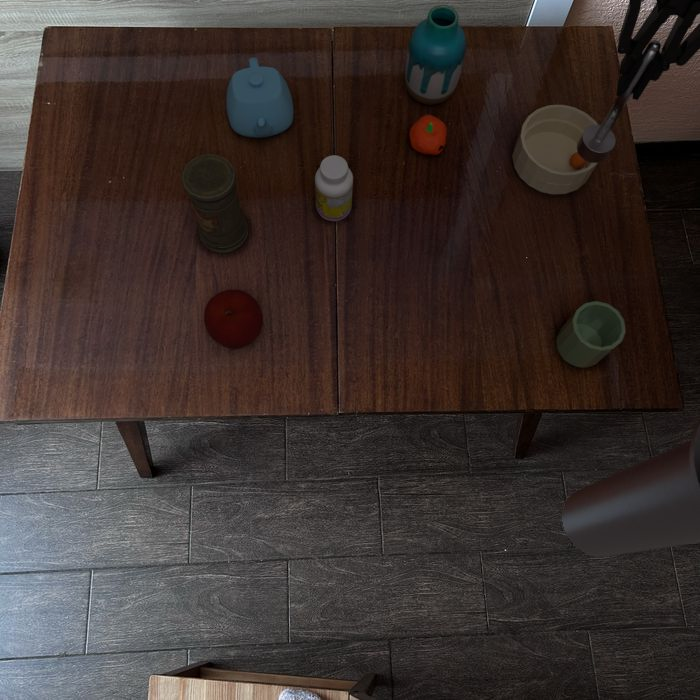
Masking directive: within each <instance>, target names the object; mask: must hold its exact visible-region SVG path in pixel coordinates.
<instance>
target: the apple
mask: <svg viewBox="0 0 700 700" xmlns="http://www.w3.org/2000/svg"><path fill="white" fill-rule="evenodd" d="M203 322H204V323H203V324H204V327H205V330H206V332H207V334H208V335H209V336H210V338H211V339H212V340H213V341H214V342H216V343H217V344H219V345H220V346H222V347H225V348H226V349H227V348H228V349H231V350H232V349H233V350H239V349H244V348H246V347H248V346H249V345H251V344H253V343H254V342H255V341H256V340H257V339H258V337H259V336H260V334H261V332H262V329H263V323H264V317H263V311H262V309H261V306H260V304H259V303H258V301H257V299H256V298H254V296H252V294H250V293H248V292H246V291H244V290H241V289H234V288H233V289H225V290H223V291H219V292H218V293H216V294H215V295H213V296H212V297H211V298H210V299H209V300H208V302H207V303H206V305H205V308H204V313H203Z"/></svg>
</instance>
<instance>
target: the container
mask: <svg viewBox="0 0 700 700" xmlns="http://www.w3.org/2000/svg"><path fill="white" fill-rule="evenodd" d="M236 181H237V173H236V169H235V167H234V166H233V164H232V163H231V162H230V161H229V160H228V159H226V158H225V157H223V156H221V155H217V154H212V153H211V154H210V153H208V154H207V153H206V154H202V155H201V154H200V155H198V156H196V157H194V158H192V159H191V160H190V161H188V163H187V164H186V165H185V167H184V169H183V171H182V175H181V183H182V187H183V190H184V191H185V192H186V193H187V195H188V198H189V202H191V204H192V208H193V210H194V213H195V216H196V223H197V227H198V228H197V229H198V236H199V239H200V241H201V243H202V245H203V246H204V247H205V248H207V249H208V250H209V251H211V252H213V253H216V254H222V255H223V254H230V253H231V254H232V253H233V252H235V251H237V250H240V248H241V247H243V246H244V244H245V242H246V241H247V238H248V236H249V223H248V220H247V219H246V216H245V214H244V213H243V212H244V211H243V209H242V207H241V204H240V199H239V195H238V186H237V183H236Z"/></svg>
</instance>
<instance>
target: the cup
mask: <svg viewBox="0 0 700 700" xmlns="http://www.w3.org/2000/svg"><path fill="white" fill-rule="evenodd" d="M626 332H627V331H626V323H625V320H624V317H623V316H622V314H621V313H620V312H619V310H618V309H616V308H615V307H613V305H611V304H609V303H606V302H602V301H598V300H595V301H590V302H585V303H584V304H582V305H581V306H580V307H578V308H577V309H576V310H575V312H574V313H572V315H571V316H570V317H569V318H568V319H567V321H566V322H564V324H563V325H562V326H561V328H560V330H559V332H558V333H557V336H556V342H555V343H556V349H557V352H558V353H559V355H560V357H561V358H562V359H563V360H564V361H565V362H566V363H567V364H569V365H570V366H574V367H575V368H591V367H593V366H596V365H597V364H598V363H599V362H601V361H602V360H603V359H604V358H605V357H606V356H608V355H609V354H610V353H611V352H612V351H613V350H614V349H615V348H617V346H619V345H620V344H621V343H622V342H623V340H624V338H625V334H626Z"/></svg>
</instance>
